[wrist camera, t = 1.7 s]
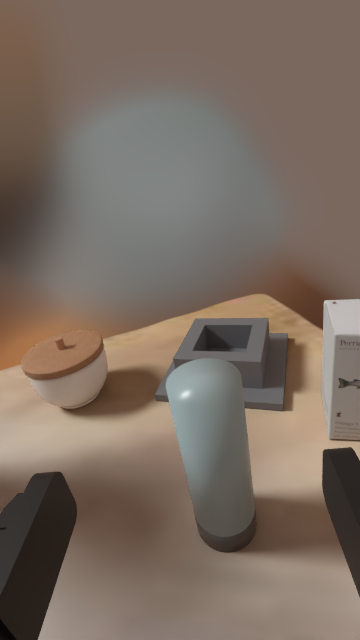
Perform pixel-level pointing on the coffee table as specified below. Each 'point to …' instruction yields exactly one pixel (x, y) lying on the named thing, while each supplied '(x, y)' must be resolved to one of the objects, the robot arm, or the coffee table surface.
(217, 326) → the socket block
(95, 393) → the lidded jar
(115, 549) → the coffee table surface
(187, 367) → the peg
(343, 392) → the supplement box
